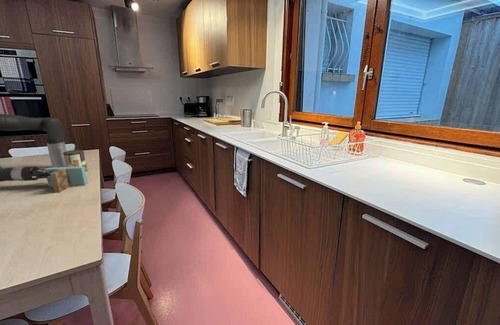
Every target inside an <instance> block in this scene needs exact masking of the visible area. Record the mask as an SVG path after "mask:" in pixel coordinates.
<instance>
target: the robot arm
mask: <svg viewBox="0 0 500 325" xmlns="http://www.w3.org/2000/svg"><path fill="white" fill-rule="evenodd" d="M26 130H27V131H28V130H30V131H41V132H42V131H43V132H46V136H47V137H46V139H45V143H46V146H47V151H48V155H49V158H50V163H51V166H48V167H47V168H54V167H66V163H65V159H64V154H63V152H66V151H67V148H66V143H65V131H64V130H65V129H64V126H63V123H62V121H61V120H60V119H58V118H56V117H27V116H24V115H23V116H22V115H18V114H17V115H16V114H7V113H0V131H9V132H10V131H11V132H16V131H26ZM45 169H46V168H44V167H43V168H39V167H38V166H36V165H35V166H34V165H33V166H31V165H30V166H29V165H27V166H16V167H15V166H14V167H11V166H10V167H4V168H3V167H2V166H1V165H0V183H1V182H11V181H12V182H15V181H17V182H18V181H19V182H23V181H25V182H26V181H27V182H29V181H32V182H33V181H38V180H39V179H47V177H50V173H53V172H47V171H45Z"/></svg>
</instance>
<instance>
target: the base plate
mask: <svg viewBox="0 0 500 325" xmlns="http://www.w3.org/2000/svg"><path fill="white" fill-rule="evenodd" d="M66 167H80V166H79V162H76V163H72V164H70V165H68V166H66ZM50 176H51V180H52V184H53V187H52V188H53V192H54V193H62V192H63V191H65V190H66V189H68V188H70V187H72V186H71V185H70V180H69V177H67V173H66V169H59V170H57V171H55V172H53V173H50Z"/></svg>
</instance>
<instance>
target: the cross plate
mask: <svg viewBox="0 0 500 325" xmlns="http://www.w3.org/2000/svg"><path fill="white" fill-rule="evenodd" d="M59 169H66V173H67V177H69V180H70V185H71V186H70V187H83V186H87V185H89V184H88V183H89V182H88V177H87V173H86V172H85V167H54V168H48V167H47V168H45V171H47V172H55V171H57V170H59ZM46 180H47V186H48V187H49V188H53V184H52V180H51V176H50V177H47V178H46Z"/></svg>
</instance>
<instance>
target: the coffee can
mask: <svg viewBox="0 0 500 325" xmlns="http://www.w3.org/2000/svg"><path fill="white" fill-rule="evenodd" d="M63 154H64V159H65V163H66V166H68V165H70V164H72V163H76V162H79V166H80V167H85V172H86V174H87V173H88V167H87V161H86V157H85V156H86V155H85V151H84V150H83V149H70V150H66V152H63Z"/></svg>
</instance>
